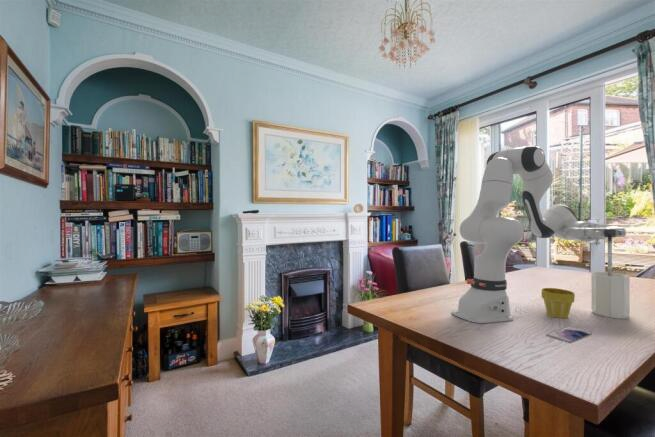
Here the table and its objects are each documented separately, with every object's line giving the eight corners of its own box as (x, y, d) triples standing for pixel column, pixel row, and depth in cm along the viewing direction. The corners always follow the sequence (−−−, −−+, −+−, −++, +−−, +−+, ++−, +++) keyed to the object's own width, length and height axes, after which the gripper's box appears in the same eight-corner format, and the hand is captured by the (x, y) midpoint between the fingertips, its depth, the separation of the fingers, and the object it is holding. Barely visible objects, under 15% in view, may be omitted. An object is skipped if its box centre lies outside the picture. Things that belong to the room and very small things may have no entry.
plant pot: (581, 320, 111) (581, 294, 111) (549, 319, 113) (549, 293, 113) (564, 312, 121) (564, 288, 121) (536, 310, 123) (536, 287, 123)
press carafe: (620, 320, 111) (620, 277, 111) (586, 312, 121) (586, 273, 121) (637, 315, 117) (637, 274, 117) (604, 308, 126) (604, 270, 126)
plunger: (617, 287, 113) (617, 229, 113) (592, 283, 120) (592, 229, 120) (627, 285, 116) (627, 229, 116) (602, 281, 123) (602, 228, 123)
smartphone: (593, 333, 99) (570, 342, 92) (593, 335, 99) (570, 344, 92) (567, 326, 105) (544, 333, 98) (567, 328, 105) (544, 336, 98)
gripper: (558, 224, 132) (584, 225, 118) (607, 224, 131) (638, 225, 117) (558, 238, 132) (584, 241, 118) (607, 238, 131) (638, 241, 117)
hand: (611, 233), depth 117 cm, fingers open, 8 cm apart
